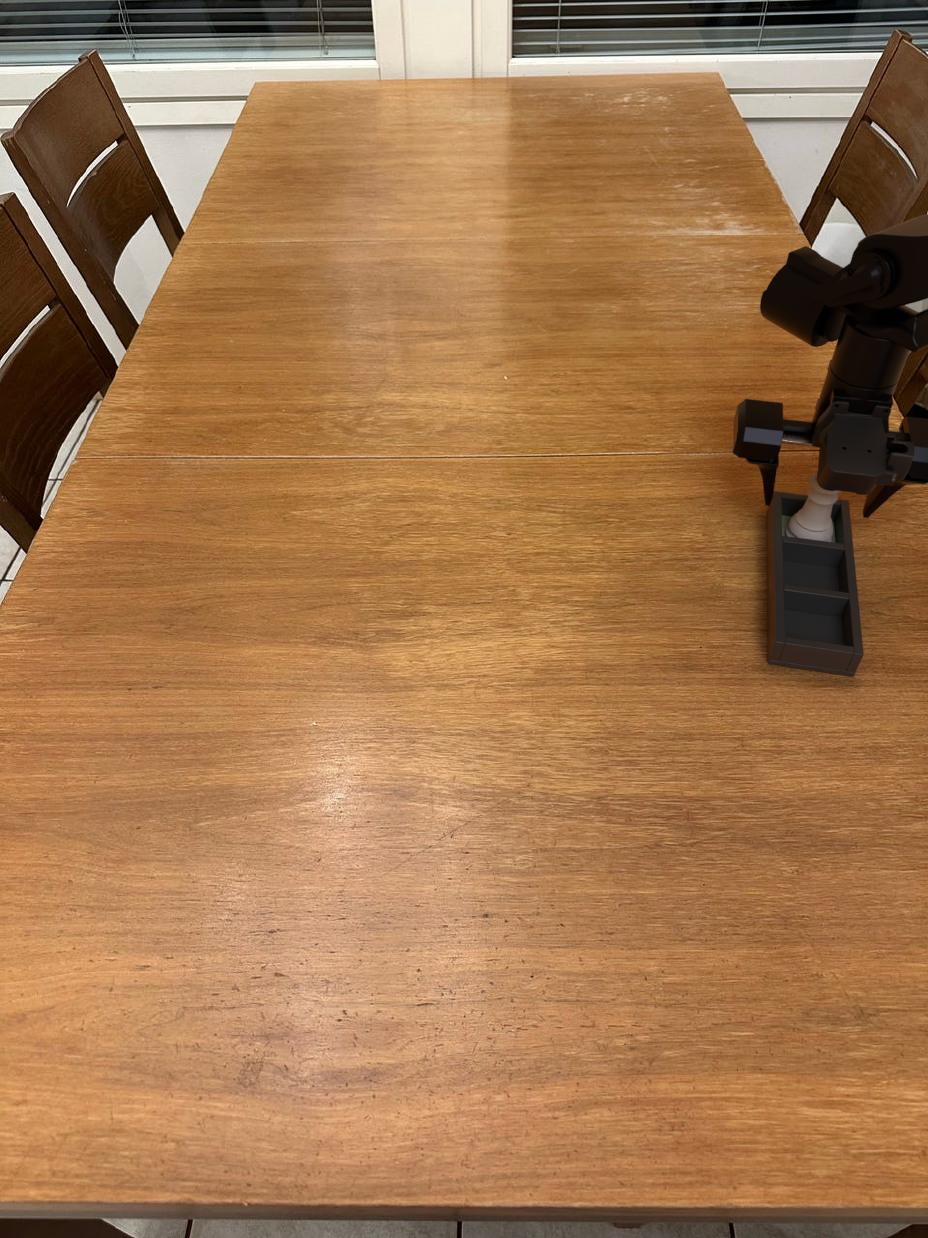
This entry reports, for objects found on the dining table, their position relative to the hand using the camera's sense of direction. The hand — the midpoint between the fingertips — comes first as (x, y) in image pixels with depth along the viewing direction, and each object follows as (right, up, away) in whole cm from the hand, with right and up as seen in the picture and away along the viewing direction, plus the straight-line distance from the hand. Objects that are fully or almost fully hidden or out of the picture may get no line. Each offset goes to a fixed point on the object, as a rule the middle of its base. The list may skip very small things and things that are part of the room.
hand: (815, 508), depth 92 cm
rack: (-1, -8, -1) cm, 8 cm away
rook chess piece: (0, -3, +3) cm, 4 cm away
